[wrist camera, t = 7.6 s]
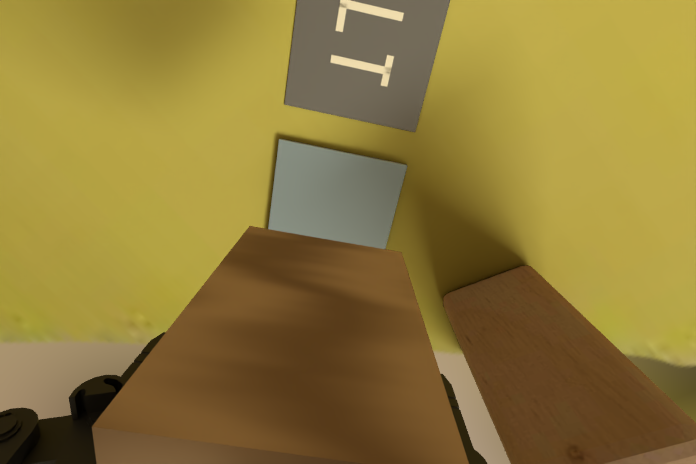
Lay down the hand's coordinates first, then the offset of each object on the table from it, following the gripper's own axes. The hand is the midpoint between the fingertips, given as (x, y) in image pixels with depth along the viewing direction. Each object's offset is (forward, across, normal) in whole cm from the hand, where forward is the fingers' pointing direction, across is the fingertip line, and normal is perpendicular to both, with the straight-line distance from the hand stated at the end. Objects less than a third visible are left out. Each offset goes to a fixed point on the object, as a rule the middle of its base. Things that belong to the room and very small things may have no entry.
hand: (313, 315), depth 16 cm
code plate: (+19, 0, +14) cm, 23 cm away
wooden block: (+19, +20, -10) cm, 29 cm away
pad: (+19, 0, -1) cm, 19 cm away
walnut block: (+1, 0, 0) cm, 1 cm away
